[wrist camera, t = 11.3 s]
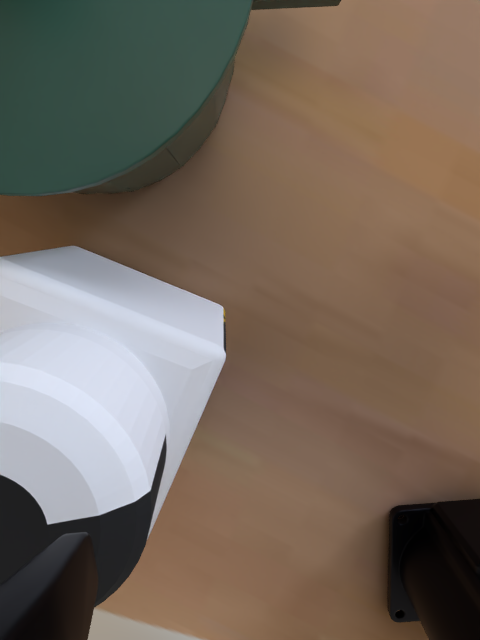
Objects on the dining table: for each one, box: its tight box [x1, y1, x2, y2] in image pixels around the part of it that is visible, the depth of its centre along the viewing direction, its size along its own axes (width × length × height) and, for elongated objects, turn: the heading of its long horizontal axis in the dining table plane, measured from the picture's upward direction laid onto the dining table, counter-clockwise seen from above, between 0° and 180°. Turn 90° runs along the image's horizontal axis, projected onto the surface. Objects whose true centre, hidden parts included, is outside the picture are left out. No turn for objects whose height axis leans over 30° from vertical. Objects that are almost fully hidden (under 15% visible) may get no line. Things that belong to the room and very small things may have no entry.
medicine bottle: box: [0, 246, 226, 607], centre depth 14 cm, size 7×7×12 cm
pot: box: [74, 0, 341, 194], centre depth 14 cm, size 11×16×8 cm, turn 93°
